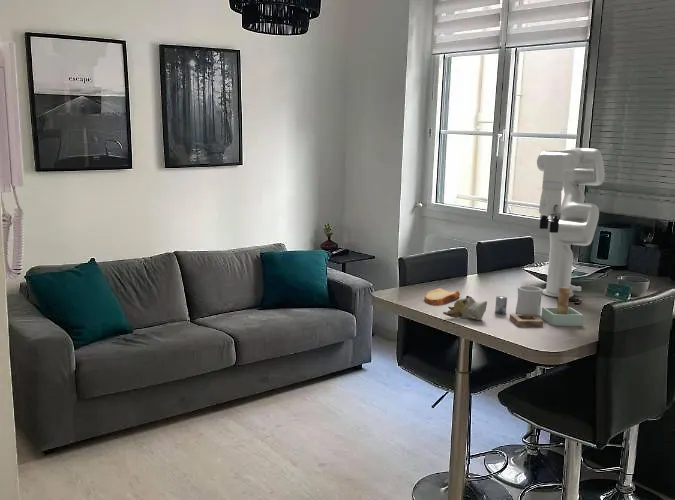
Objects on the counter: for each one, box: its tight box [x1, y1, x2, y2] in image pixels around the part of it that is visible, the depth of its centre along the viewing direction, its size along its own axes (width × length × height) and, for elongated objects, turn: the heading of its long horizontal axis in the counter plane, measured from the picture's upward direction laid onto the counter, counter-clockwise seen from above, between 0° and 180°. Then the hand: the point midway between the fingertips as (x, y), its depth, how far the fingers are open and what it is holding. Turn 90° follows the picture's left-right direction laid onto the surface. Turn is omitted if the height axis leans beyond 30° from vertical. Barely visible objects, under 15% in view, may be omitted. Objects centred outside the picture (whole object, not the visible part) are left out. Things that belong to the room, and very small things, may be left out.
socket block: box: [509, 313, 544, 328], centre depth 236 cm, size 9×9×2 cm
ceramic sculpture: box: [442, 295, 488, 321], centre depth 240 cm, size 11×9×15 cm
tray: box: [540, 306, 584, 327], centre depth 239 cm, size 11×10×4 cm
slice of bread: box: [423, 287, 461, 306], centre depth 266 cm, size 18×18×4 cm
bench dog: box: [494, 295, 508, 315], centre depth 248 cm, size 4×4×6 cm
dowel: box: [556, 287, 570, 314], centre depth 239 cm, size 4×4×12 cm
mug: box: [515, 285, 543, 317], centre depth 249 cm, size 12×9×10 cm
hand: (548, 230), depth 255 cm, fingers open, 9 cm apart
